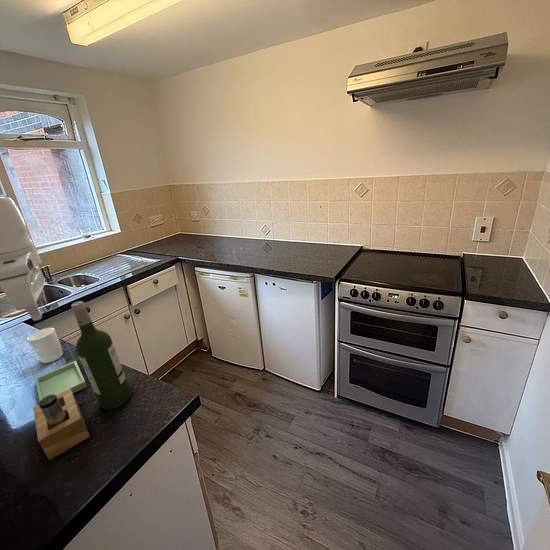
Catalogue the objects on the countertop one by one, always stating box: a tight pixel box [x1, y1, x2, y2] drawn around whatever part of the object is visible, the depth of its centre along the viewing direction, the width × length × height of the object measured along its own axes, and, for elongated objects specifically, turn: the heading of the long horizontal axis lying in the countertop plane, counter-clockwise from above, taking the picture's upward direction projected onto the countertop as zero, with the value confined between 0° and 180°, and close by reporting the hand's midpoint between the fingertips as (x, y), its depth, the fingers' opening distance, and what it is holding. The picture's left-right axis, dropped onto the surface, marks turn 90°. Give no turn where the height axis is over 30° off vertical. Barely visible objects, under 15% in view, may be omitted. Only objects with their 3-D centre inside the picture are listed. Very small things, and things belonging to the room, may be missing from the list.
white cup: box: [27, 327, 64, 364], centre depth 105 cm, size 8×8×10 cm
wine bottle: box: [71, 300, 132, 410], centre depth 77 cm, size 8×8×30 cm
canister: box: [38, 394, 68, 428], centre depth 70 cm, size 3×3×12 cm
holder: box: [32, 389, 91, 461], centre depth 74 cm, size 15×8×6 cm, turn 42°
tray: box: [34, 360, 88, 402], centre depth 91 cm, size 15×11×2 cm
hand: (41, 311), depth 76 cm, fingers open, 8 cm apart
